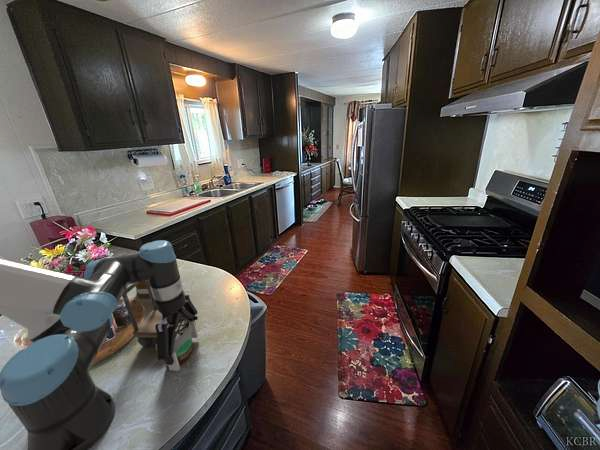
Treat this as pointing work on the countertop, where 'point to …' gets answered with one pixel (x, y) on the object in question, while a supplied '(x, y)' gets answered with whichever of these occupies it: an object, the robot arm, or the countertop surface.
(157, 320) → the trolley
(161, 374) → the countertop surface
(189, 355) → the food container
